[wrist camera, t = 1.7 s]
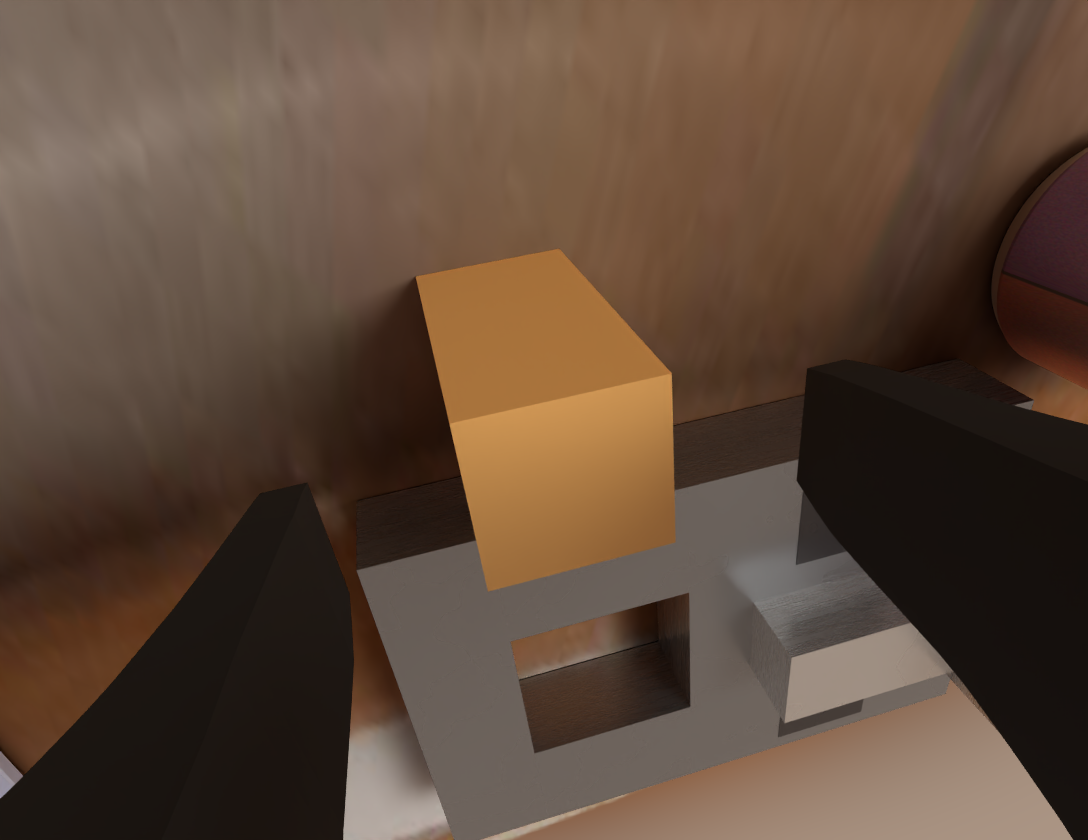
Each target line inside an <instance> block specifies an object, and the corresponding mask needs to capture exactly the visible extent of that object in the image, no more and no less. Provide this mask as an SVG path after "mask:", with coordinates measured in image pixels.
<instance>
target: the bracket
mask: <svg viewBox="0 0 1088 840" xmlns="http://www.w3.org/2000/svg"><path fill="white" fill-rule="evenodd" d="M750 668H751V669H752V671H753V673H754V674H755V676H756V677H757V679H758V681H759V682H760V684H761V686H762V687H763V689H764V691H765V692H766V694H767V695H768V697H769V699H770V700H771V702H772V704H773V705H774V707H775V708H776V710H777V712H778V713H779V715H780V717H781V718H782V720H783V722H784V723H787V722H790V721H793V720H797V719H800V718H803V717H806V716H810V715H813V714H816V713H819V712H823V711H826V710H829V709H832V708H836V707H839V706H842V705H845V704H848V703H852V702H855V701H858V700H861V699H865V698H868V697H871V696H874V695H878V694H881V693H884V692H887V691H891V690H894V689H897V688H900V687H904V686H907V685H910V684H913V683H917V682H920V681H923V680H926V679H930V678H933V677H936V676H939V675H942V674H946V675H947V676H948V677H949V678H950V679H951V680H952V681H953V682H954V683H955V684H956V686H957V687H958V688H959V689H960V690H961V691H962V692H963V693H964V694H965V695H966V697H967V698H968V699H969V700H970V701H971V702H972V703H973V704H974V705H975V706H976V708H977V709H978V710H979V711H980V712H981V713H982V714H983V715H984V716H985V717H986V719H987V720H988V721H989V722H990V723H991V724H992V725H993V723H992V722H991V720H990V719H989V718H988V716H987V715H986V714H985V712H984V711H983V710H982V708H981V707H980V706H979V704H978V703H977V701H976V700H975V699H974V697H973V696H972V695H971V693H970V692H969V691H968V689H967V688H966V687H965V685H964V684H963V683H962V681H961V680H960V679H959V678H958V676H957V675H956V674H955V673H954V672H953V670H952V669H951V668H950V667H949V666H948V664H947V663H946V662H945V661H944V660H943V658H942V657H941V656H940V655H939V654H938V652H937V651H936V650H935V649H934V648H933V647H932V646H931V645H930V643H929V642H928V641H927V640H926V639H925V638H924V637H923V636H922V635H921V634H920V632H919V631H918V630H917V629H916V628H915V627H914V626H913V625H912V624H911V622H910V621H909V620H908V619H907V618H906V617H905V616H904V615H903V614H902V612H901V611H900V610H899V609H898V608H897V607H896V606H895V605H894V604H893V602H892V601H891V600H890V599H889V598H888V597H887V596H886V595H885V594H884V592H883V591H882V590H881V589H880V588H879V587H878V586H877V585H876V584H875V583H874V581H873V580H872V579H871V578H870V577H869V576H868V575H867V574H866V572H861V573H858V574H854V575H851V576H847V577H844V578H840V579H836V580H833V581H829V582H826V583H822V584H819V585H815V586H812V587H808V588H804V589H801V590H797V591H794V592H790V593H787V594H783V595H779V596H776V597H772V598H769V599H765V600H762V601H758V602H754V606H753V623H752V639H751V656H750ZM993 726H994V725H993ZM994 727H995V726H994ZM995 728H996V727H995ZM996 730H997V729H996ZM998 732H999V731H998Z"/></svg>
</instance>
